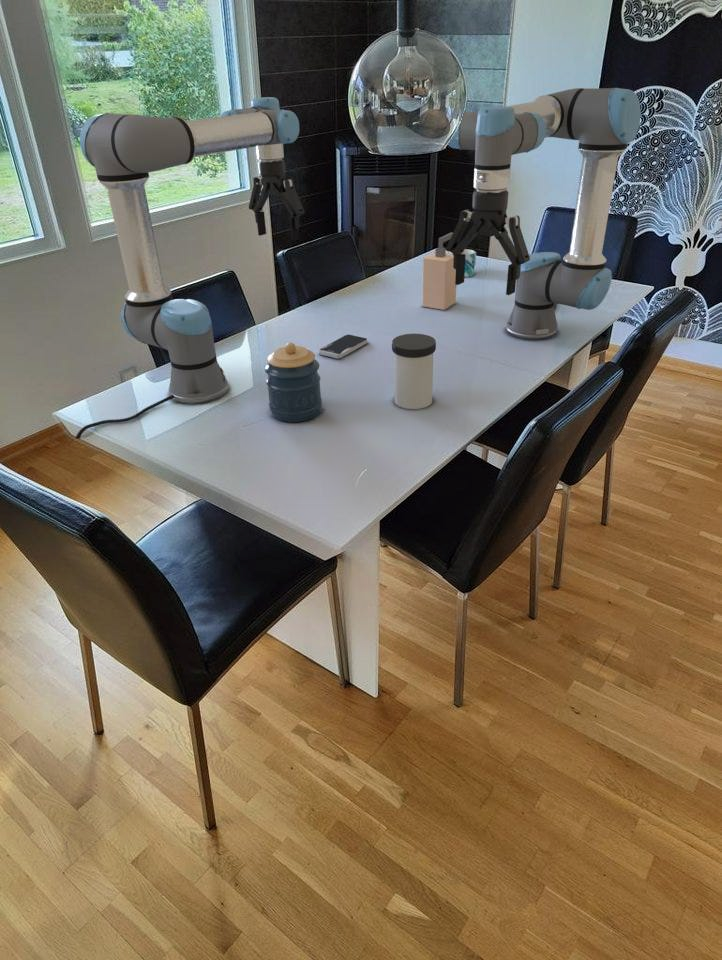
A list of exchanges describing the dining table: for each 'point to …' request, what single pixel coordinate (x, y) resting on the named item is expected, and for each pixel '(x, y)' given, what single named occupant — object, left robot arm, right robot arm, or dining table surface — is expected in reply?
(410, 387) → the jar
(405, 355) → the lid
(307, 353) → the canister
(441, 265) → the soap dispenser
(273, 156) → the left robot arm
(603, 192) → the right robot arm
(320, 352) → the smartphone
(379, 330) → the dining table surface
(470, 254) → the mug
